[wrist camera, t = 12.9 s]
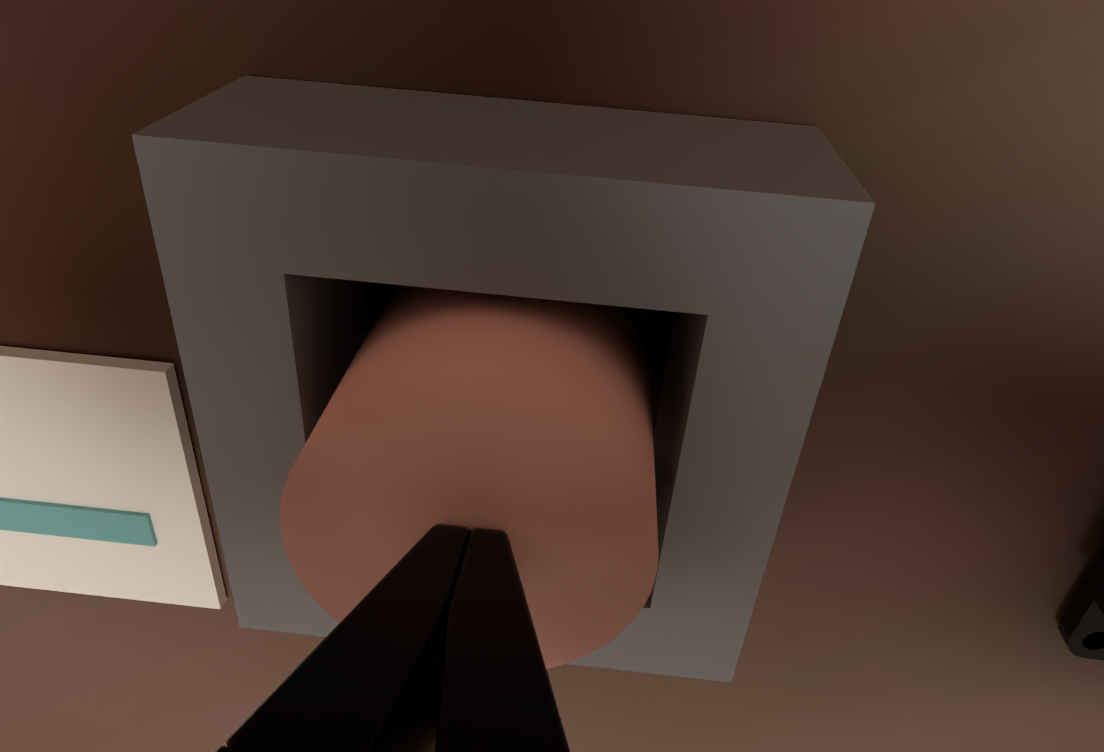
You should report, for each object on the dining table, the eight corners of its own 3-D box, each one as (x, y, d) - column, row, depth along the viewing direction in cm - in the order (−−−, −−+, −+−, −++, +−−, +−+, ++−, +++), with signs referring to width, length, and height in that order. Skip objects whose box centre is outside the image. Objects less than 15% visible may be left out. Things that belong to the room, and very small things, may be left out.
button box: (817, 126, 11) (875, 203, 8) (714, 548, 15) (731, 682, 13) (244, 75, 11) (131, 134, 9) (303, 503, 15) (240, 627, 13)
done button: (670, 270, 11) (687, 418, 8) (632, 509, 13) (633, 691, 10) (355, 240, 11) (255, 374, 8) (372, 482, 13) (300, 654, 10)
